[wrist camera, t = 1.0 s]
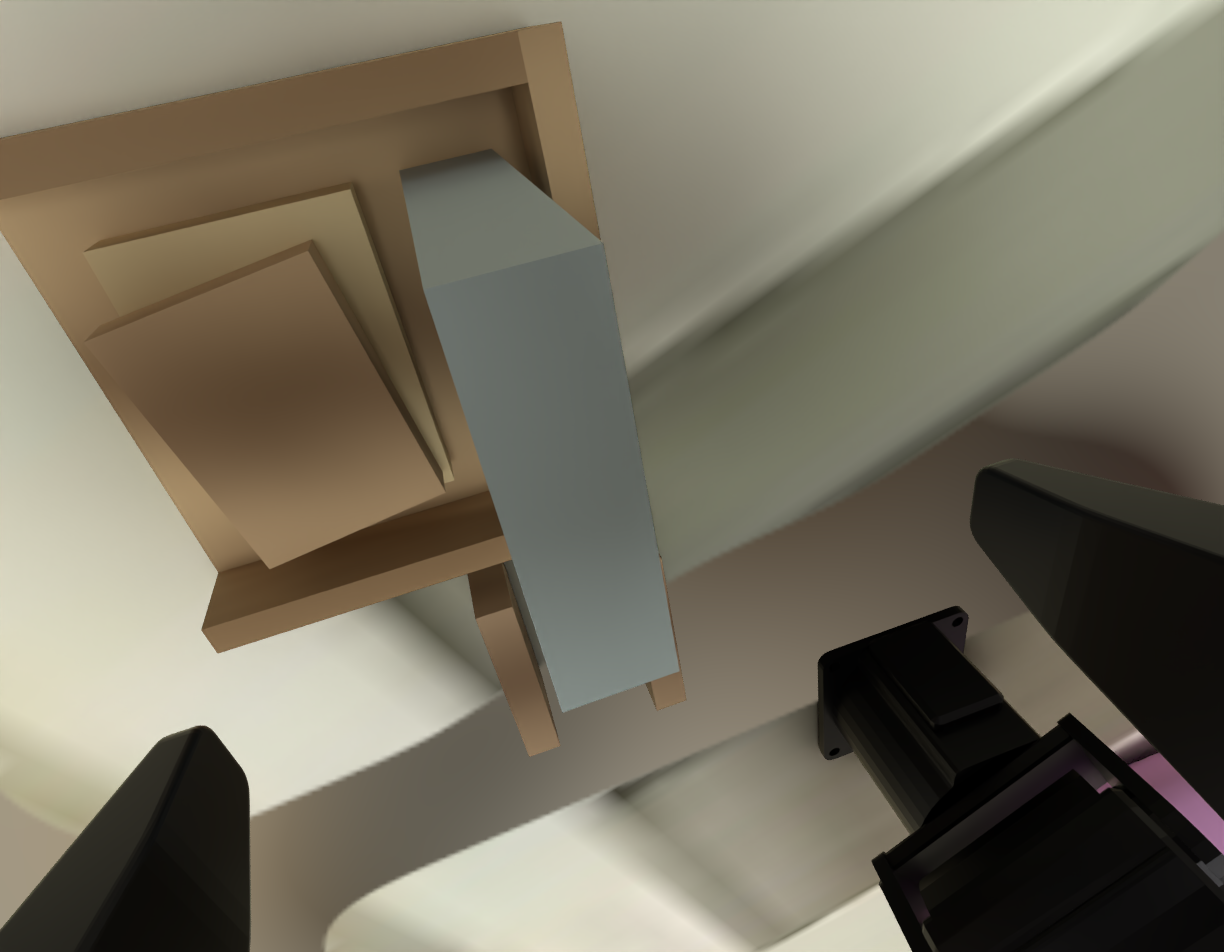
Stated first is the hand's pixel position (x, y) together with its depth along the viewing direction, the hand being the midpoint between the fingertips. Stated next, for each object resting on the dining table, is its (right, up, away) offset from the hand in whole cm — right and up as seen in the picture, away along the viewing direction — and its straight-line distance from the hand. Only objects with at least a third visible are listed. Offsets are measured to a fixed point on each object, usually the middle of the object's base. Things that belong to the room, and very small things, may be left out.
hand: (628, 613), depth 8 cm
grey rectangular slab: (-3, +5, +9) cm, 11 cm away
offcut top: (-7, +3, +8) cm, 11 cm away
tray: (-6, +5, +9) cm, 12 cm away
